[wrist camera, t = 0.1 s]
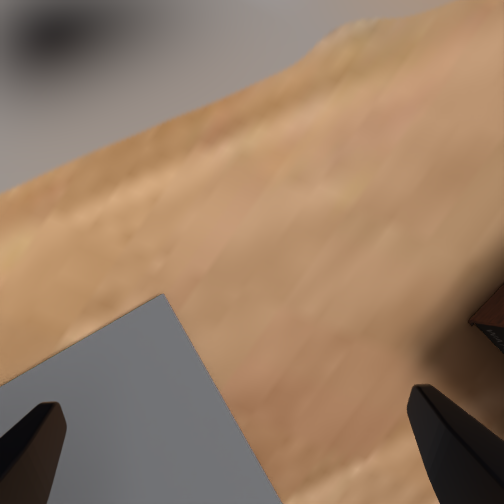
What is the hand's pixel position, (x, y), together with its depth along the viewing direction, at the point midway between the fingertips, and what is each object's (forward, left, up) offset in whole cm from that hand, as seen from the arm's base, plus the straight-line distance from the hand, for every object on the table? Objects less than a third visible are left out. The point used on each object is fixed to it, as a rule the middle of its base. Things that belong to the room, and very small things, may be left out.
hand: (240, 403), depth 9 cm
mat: (-4, +10, -15) cm, 18 cm away
